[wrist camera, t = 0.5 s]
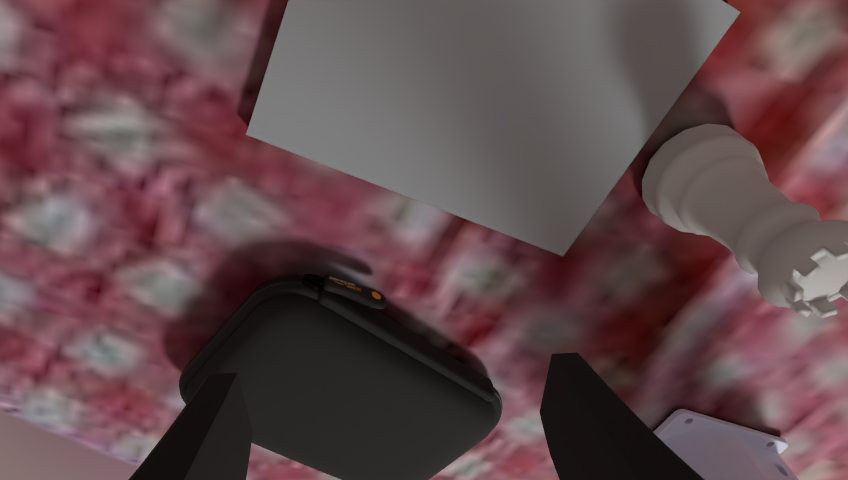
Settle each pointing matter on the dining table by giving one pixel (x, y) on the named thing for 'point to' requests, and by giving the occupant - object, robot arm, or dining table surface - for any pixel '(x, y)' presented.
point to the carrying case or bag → (345, 382)
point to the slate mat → (484, 98)
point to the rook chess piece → (749, 217)
